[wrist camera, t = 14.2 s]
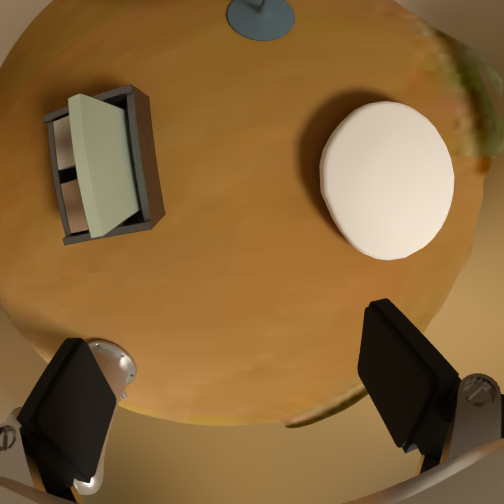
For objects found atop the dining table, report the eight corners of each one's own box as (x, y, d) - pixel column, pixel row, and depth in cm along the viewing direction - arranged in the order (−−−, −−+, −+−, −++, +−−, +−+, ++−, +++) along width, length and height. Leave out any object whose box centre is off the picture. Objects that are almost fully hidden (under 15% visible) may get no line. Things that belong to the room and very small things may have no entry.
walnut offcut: (109, 216, 41) (87, 229, 33) (93, 219, 41) (71, 233, 33) (101, 173, 38) (77, 179, 31) (85, 178, 38) (60, 184, 31)
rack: (165, 214, 43) (151, 229, 34) (89, 228, 42) (64, 245, 33) (149, 96, 36) (131, 84, 28) (72, 120, 35) (43, 116, 27)
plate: (474, 172, 40) (410, 287, 46) (452, 166, 46) (391, 272, 52) (386, 64, 30) (296, 213, 37) (363, 70, 36) (282, 202, 43)
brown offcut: (99, 161, 38) (75, 164, 30) (84, 166, 37) (58, 170, 30) (94, 119, 35) (70, 114, 28) (79, 125, 35) (53, 121, 28)
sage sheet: (150, 202, 41) (103, 235, 24) (141, 204, 41) (91, 238, 24) (135, 114, 36) (80, 93, 19) (127, 116, 36) (68, 98, 19)
